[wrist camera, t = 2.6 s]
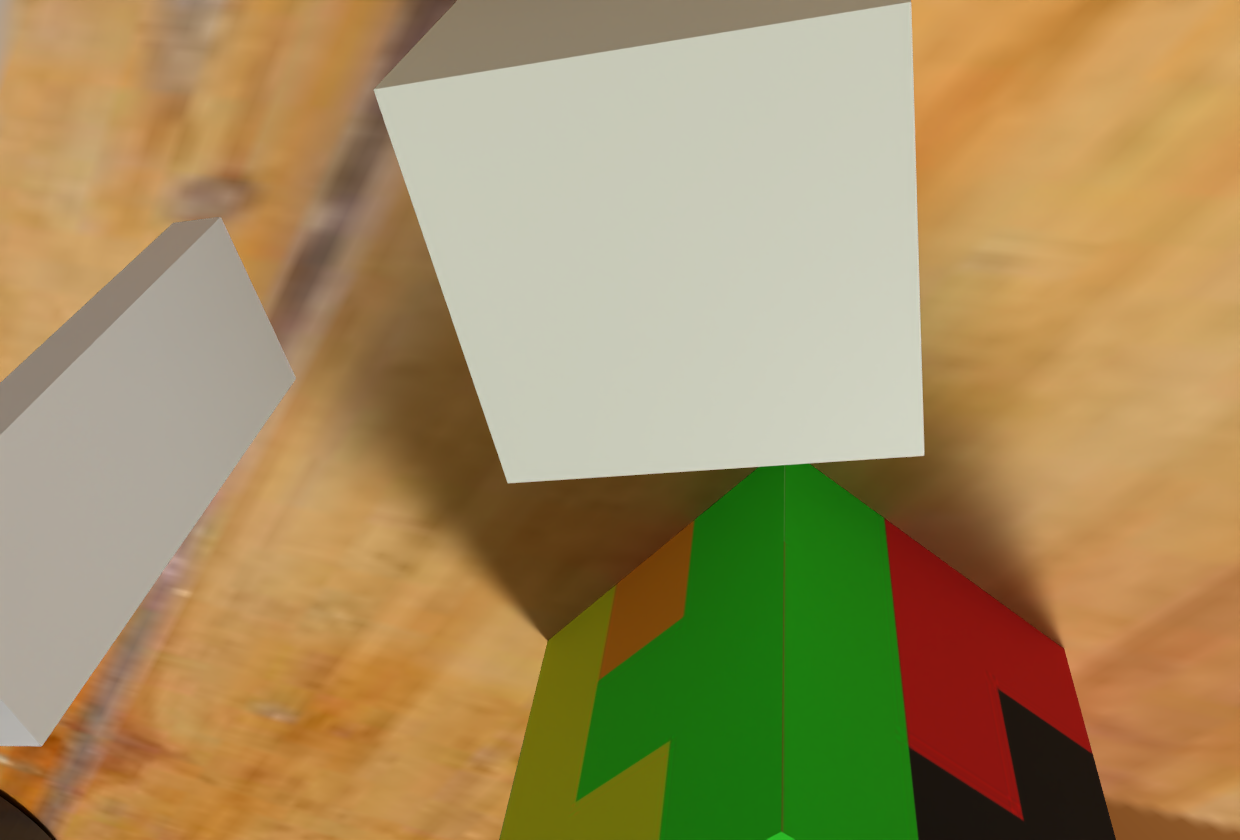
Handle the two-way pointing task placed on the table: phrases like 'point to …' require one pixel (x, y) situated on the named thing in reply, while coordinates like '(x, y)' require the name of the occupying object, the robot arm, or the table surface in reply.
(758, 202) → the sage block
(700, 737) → the puzzle toy
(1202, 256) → the table surface
